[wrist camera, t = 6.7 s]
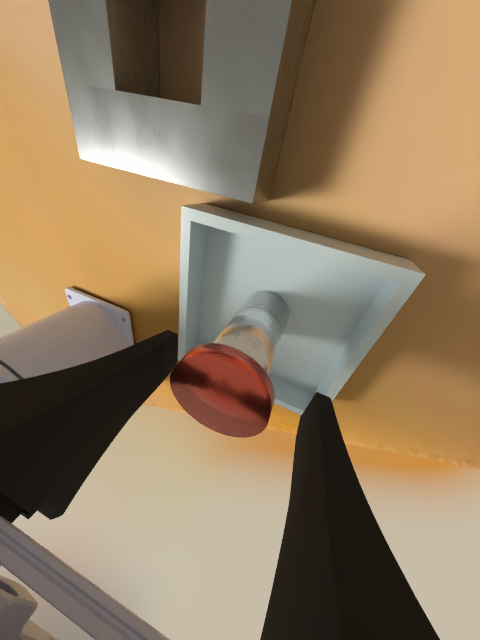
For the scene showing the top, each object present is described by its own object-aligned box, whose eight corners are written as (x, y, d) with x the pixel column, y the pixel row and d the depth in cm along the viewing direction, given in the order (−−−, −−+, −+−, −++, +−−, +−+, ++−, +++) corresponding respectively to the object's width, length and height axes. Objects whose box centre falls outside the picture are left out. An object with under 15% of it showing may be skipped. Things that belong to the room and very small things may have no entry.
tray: (318, 396, 18) (316, 422, 16) (193, 343, 20) (178, 360, 18) (409, 258, 11) (425, 274, 9) (204, 203, 13) (181, 205, 11)
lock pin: (287, 345, 16) (255, 450, 9) (233, 326, 17) (171, 410, 10) (307, 293, 13) (282, 388, 7) (242, 274, 14) (168, 342, 8)
